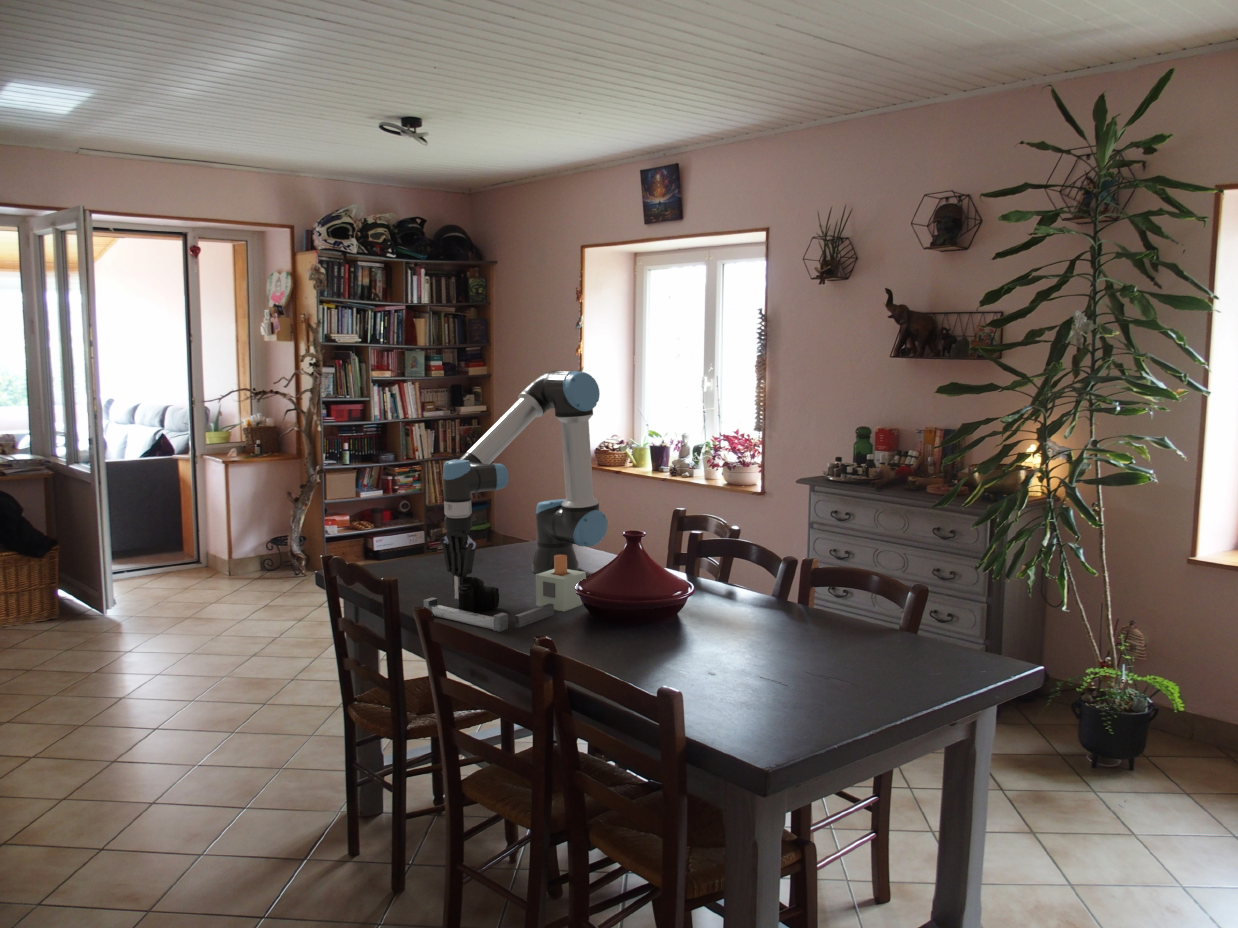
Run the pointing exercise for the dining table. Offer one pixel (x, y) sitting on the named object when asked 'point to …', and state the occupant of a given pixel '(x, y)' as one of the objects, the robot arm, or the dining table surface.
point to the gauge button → (560, 565)
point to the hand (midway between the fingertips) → (460, 597)
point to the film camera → (477, 595)
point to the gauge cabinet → (558, 589)
